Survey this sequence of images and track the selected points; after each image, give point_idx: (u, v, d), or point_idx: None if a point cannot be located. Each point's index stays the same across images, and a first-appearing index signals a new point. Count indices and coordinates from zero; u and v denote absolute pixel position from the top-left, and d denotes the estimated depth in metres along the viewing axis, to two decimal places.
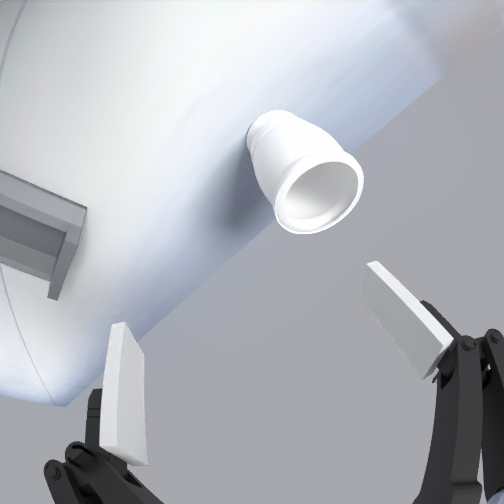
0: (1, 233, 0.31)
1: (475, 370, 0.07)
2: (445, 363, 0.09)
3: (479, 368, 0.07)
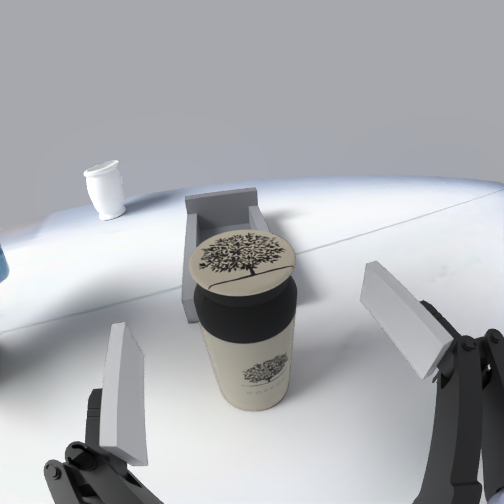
0: None
1: (475, 370, 0.07)
2: (445, 363, 0.09)
3: (479, 368, 0.07)
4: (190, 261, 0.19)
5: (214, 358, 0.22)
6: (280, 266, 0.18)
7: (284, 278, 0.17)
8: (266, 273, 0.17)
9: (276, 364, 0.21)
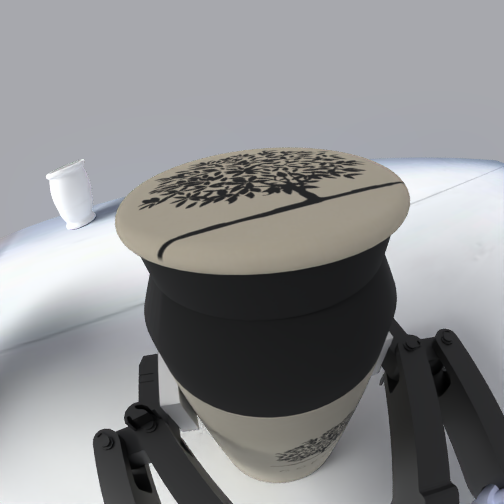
0: None
1: (424, 370, 0.08)
2: (389, 366, 0.10)
3: (428, 367, 0.08)
4: (122, 202, 0.06)
5: (211, 431, 0.09)
6: (378, 182, 0.06)
7: (407, 207, 0.05)
8: (355, 195, 0.05)
9: (342, 426, 0.09)
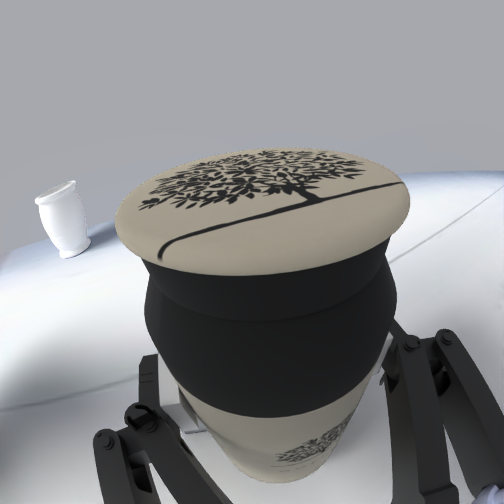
0: None
1: (424, 370, 0.08)
2: (389, 366, 0.10)
3: (428, 367, 0.08)
4: (122, 202, 0.06)
5: (211, 431, 0.09)
6: (379, 183, 0.06)
7: (408, 207, 0.05)
8: (355, 196, 0.05)
9: (342, 426, 0.09)
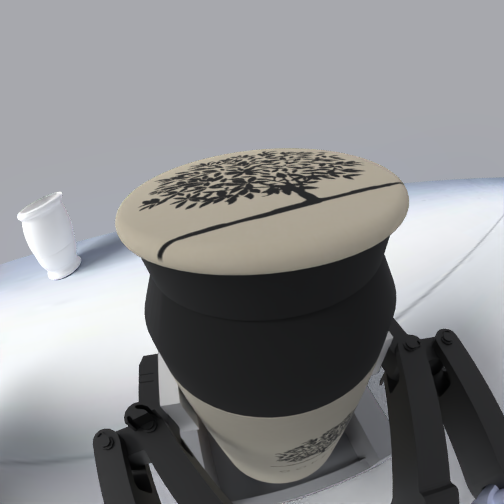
0: None
1: (424, 370, 0.08)
2: (389, 366, 0.10)
3: (428, 367, 0.08)
4: (123, 203, 0.06)
5: (211, 431, 0.09)
6: (378, 183, 0.06)
7: (406, 207, 0.05)
8: (354, 196, 0.05)
9: (342, 426, 0.09)
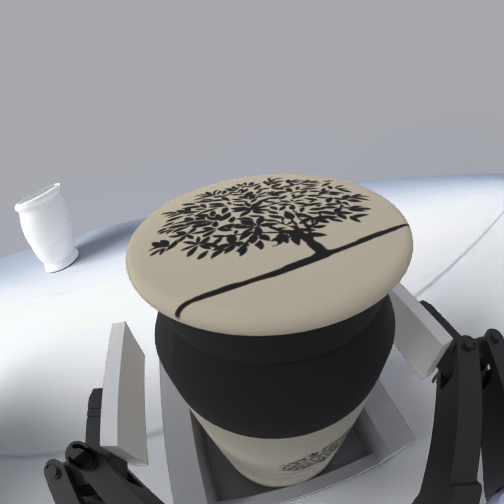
0: None
1: (475, 370, 0.07)
2: (445, 363, 0.09)
3: (479, 368, 0.07)
4: (131, 241, 0.07)
5: (218, 444, 0.09)
6: (384, 227, 0.06)
7: (410, 255, 0.05)
8: (361, 247, 0.05)
9: (342, 438, 0.09)
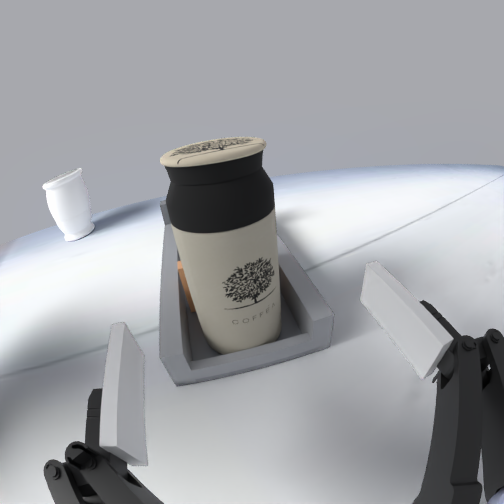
0: None
1: (475, 370, 0.07)
2: (445, 363, 0.09)
3: (479, 368, 0.07)
4: None
5: (190, 274, 0.20)
6: (250, 144, 0.17)
7: (254, 149, 0.16)
8: (236, 147, 0.16)
9: (261, 273, 0.20)
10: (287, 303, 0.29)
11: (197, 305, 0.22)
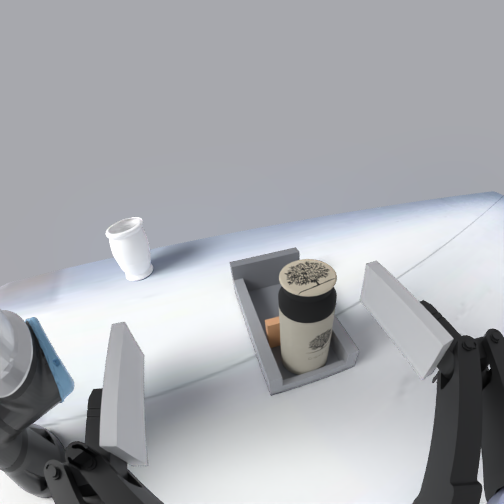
0: None
1: (475, 370, 0.07)
2: (445, 363, 0.09)
3: (479, 368, 0.07)
4: (281, 281, 0.34)
5: (290, 337, 0.36)
6: (330, 278, 0.33)
7: (334, 284, 0.32)
8: (325, 283, 0.33)
9: (326, 335, 0.36)
10: None
11: (288, 350, 0.39)
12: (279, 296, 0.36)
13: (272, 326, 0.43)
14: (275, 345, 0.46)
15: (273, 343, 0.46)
